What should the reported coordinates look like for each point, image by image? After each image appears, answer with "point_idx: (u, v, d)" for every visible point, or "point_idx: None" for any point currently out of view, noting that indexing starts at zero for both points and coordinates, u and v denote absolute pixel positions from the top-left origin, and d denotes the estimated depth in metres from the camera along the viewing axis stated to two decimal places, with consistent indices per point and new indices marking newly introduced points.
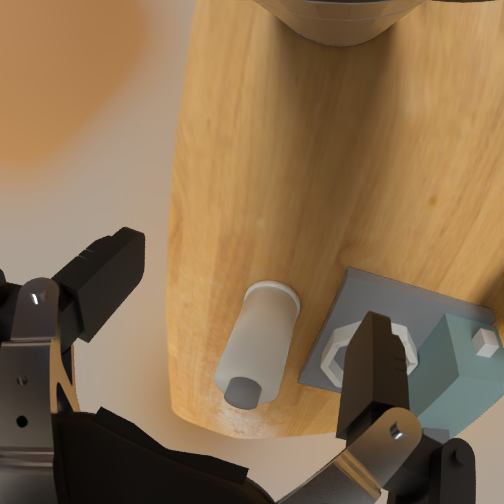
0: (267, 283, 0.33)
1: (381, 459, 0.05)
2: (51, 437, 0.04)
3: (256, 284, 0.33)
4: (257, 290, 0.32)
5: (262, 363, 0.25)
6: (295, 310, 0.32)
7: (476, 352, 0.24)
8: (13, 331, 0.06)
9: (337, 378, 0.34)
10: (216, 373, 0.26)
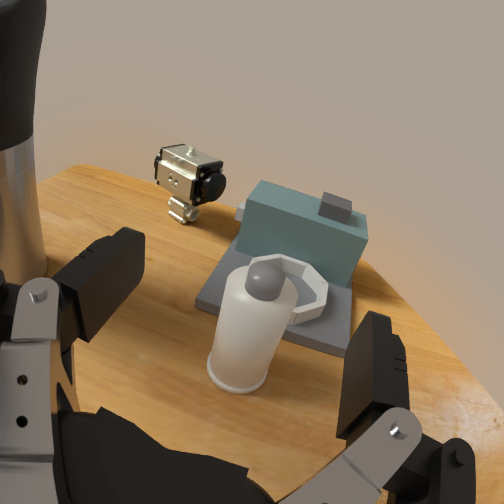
0: (207, 363, 0.30)
1: (382, 459, 0.05)
2: (51, 437, 0.04)
3: (209, 373, 0.29)
4: (211, 366, 0.29)
5: None
6: None
7: None
8: (13, 331, 0.06)
9: (312, 302, 0.36)
10: (245, 307, 0.23)
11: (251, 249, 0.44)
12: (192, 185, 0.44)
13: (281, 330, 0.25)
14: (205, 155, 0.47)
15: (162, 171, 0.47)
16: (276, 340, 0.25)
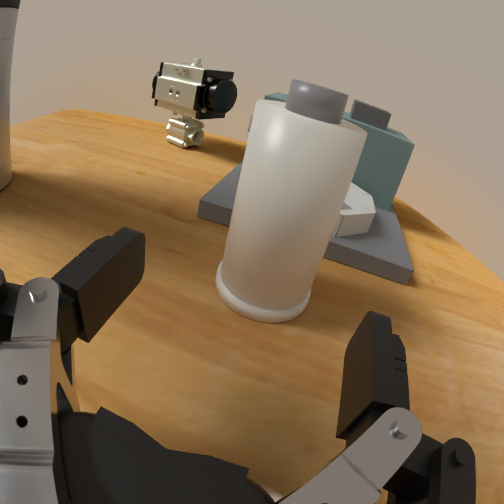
0: (216, 276, 0.20)
1: (381, 459, 0.05)
2: (51, 437, 0.04)
3: (220, 289, 0.19)
4: (224, 275, 0.19)
5: None
6: None
7: None
8: (13, 331, 0.06)
9: (359, 208, 0.26)
10: (293, 117, 0.13)
11: None
12: (197, 91, 0.34)
13: (347, 180, 0.15)
14: (212, 68, 0.37)
15: (161, 86, 0.36)
16: (339, 201, 0.15)
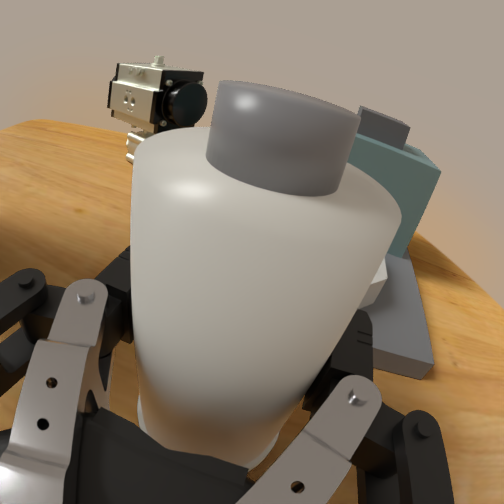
0: (138, 404, 0.12)
1: (345, 429, 0.06)
2: (51, 437, 0.04)
3: None
4: (142, 416, 0.11)
5: None
6: None
7: None
8: (52, 330, 0.06)
9: None
10: (194, 202, 0.04)
11: None
12: (153, 99, 0.25)
13: (344, 325, 0.06)
14: (178, 68, 0.28)
15: (116, 93, 0.28)
16: (323, 360, 0.07)
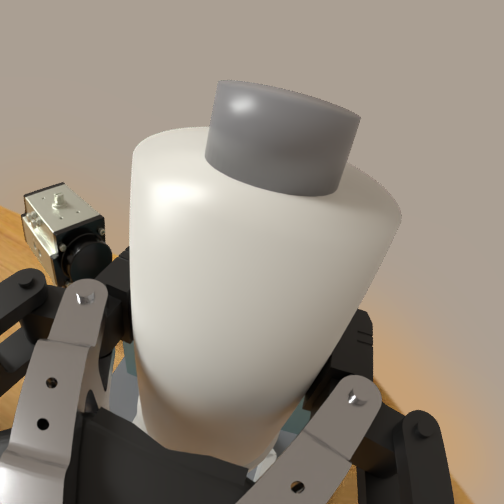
0: (138, 405, 0.12)
1: (345, 429, 0.06)
2: (51, 437, 0.04)
3: None
4: (142, 416, 0.11)
5: None
6: None
7: None
8: (52, 330, 0.06)
9: None
10: (192, 202, 0.04)
11: None
12: (52, 265, 0.23)
13: (344, 326, 0.06)
14: (81, 205, 0.26)
15: (27, 233, 0.26)
16: (322, 361, 0.07)
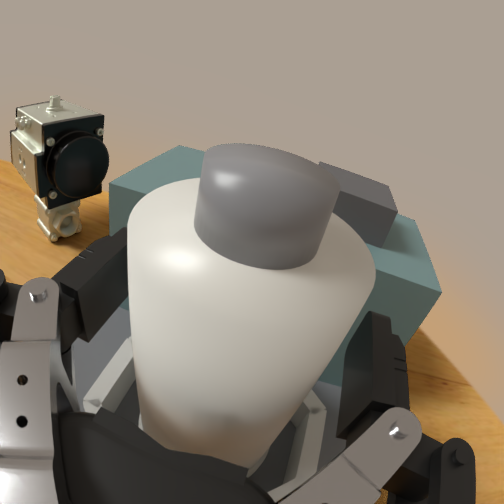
0: (139, 421, 0.12)
1: (381, 459, 0.05)
2: (51, 437, 0.04)
3: None
4: None
5: None
6: None
7: None
8: (13, 331, 0.06)
9: (274, 488, 0.10)
10: (181, 289, 0.05)
11: None
12: (35, 166, 0.17)
13: (320, 372, 0.07)
14: (79, 109, 0.20)
15: (14, 148, 0.20)
16: (301, 398, 0.08)
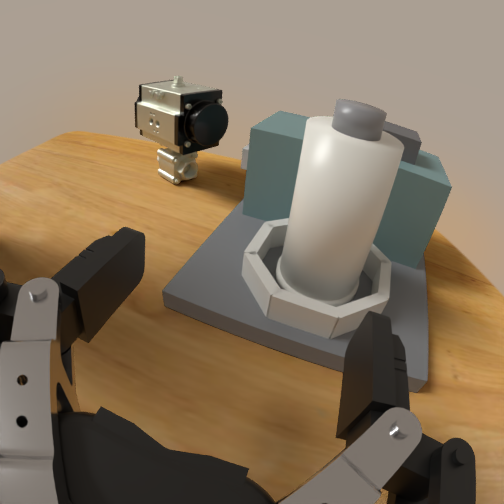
0: (276, 270, 0.23)
1: (381, 460, 0.05)
2: (51, 437, 0.04)
3: (280, 282, 0.22)
4: (283, 270, 0.22)
5: None
6: None
7: None
8: (13, 331, 0.06)
9: (366, 296, 0.19)
10: (339, 140, 0.15)
11: (266, 210, 0.28)
12: (175, 123, 0.28)
13: (387, 190, 0.16)
14: (198, 86, 0.31)
15: (142, 114, 0.32)
16: (380, 208, 0.17)
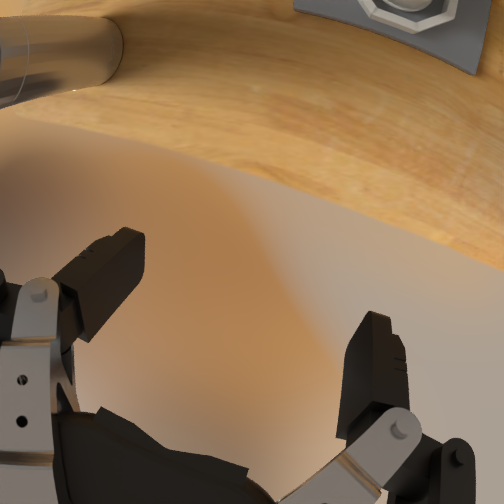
0: None
1: (382, 460, 0.05)
2: (51, 437, 0.04)
3: None
4: None
5: None
6: None
7: None
8: (13, 331, 0.06)
9: (438, 14, 0.18)
10: None
11: None
12: None
13: None
14: None
15: None
16: None
